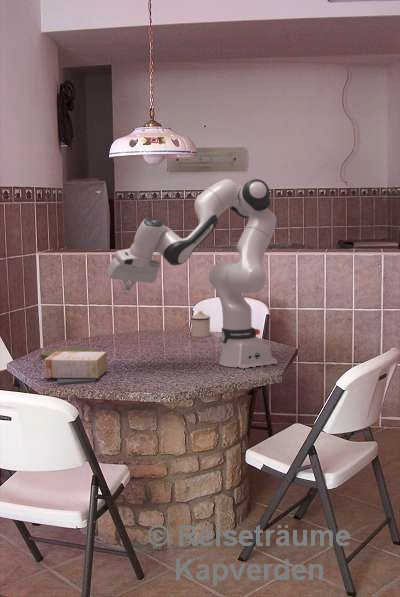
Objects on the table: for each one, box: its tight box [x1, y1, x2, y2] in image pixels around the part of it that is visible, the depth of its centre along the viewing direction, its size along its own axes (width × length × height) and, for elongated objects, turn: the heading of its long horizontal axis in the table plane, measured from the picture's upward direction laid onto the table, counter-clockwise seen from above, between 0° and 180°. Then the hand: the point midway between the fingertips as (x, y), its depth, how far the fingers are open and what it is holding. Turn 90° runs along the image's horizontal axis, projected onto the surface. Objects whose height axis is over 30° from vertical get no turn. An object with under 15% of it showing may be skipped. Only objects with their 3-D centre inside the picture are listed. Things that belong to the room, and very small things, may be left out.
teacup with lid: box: [184, 310, 211, 338], centre depth 347 cm, size 12×9×12 cm
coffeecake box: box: [43, 351, 108, 379], centre depth 270 cm, size 15×7×20 cm
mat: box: [55, 378, 96, 386], centre depth 267 cm, size 13×16×1 cm
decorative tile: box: [39, 345, 102, 360], centre depth 302 cm, size 19×20×4 cm
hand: (126, 289), depth 283 cm, fingers closed
